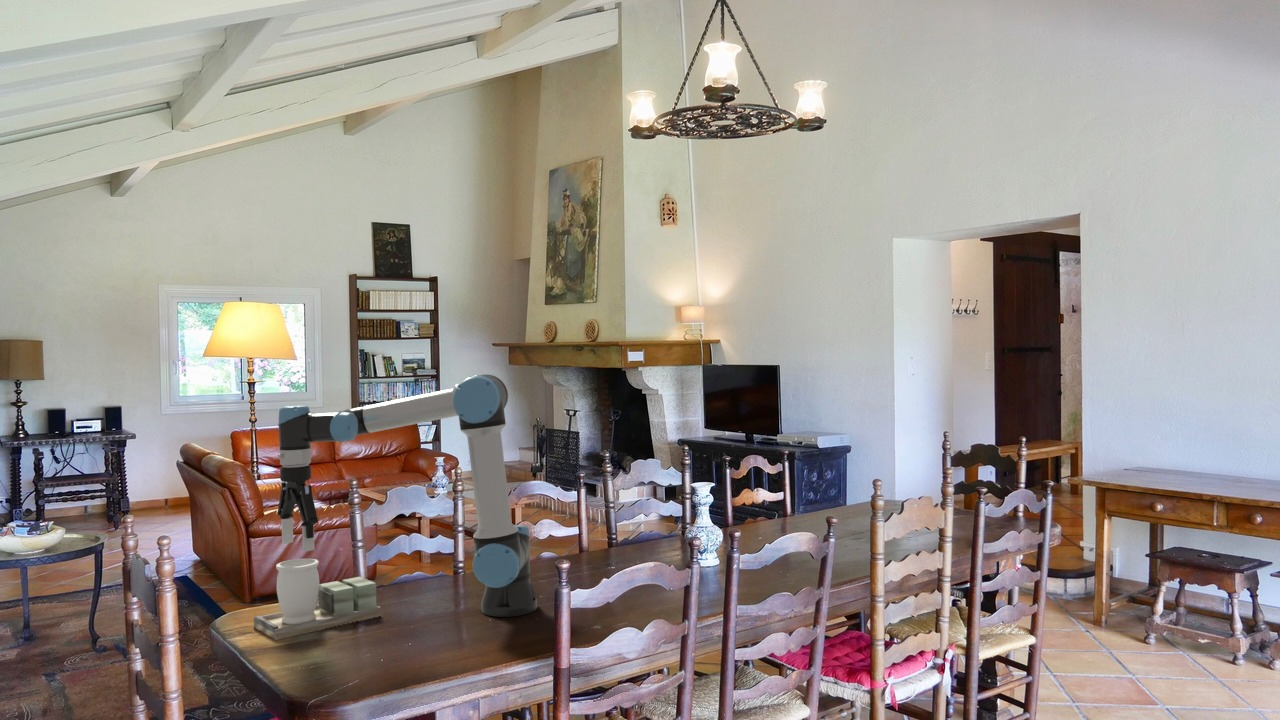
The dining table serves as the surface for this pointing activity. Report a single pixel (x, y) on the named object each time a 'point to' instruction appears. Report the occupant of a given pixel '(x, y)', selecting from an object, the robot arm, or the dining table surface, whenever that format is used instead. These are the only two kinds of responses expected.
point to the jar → (298, 590)
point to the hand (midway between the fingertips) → (298, 546)
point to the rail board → (328, 609)
